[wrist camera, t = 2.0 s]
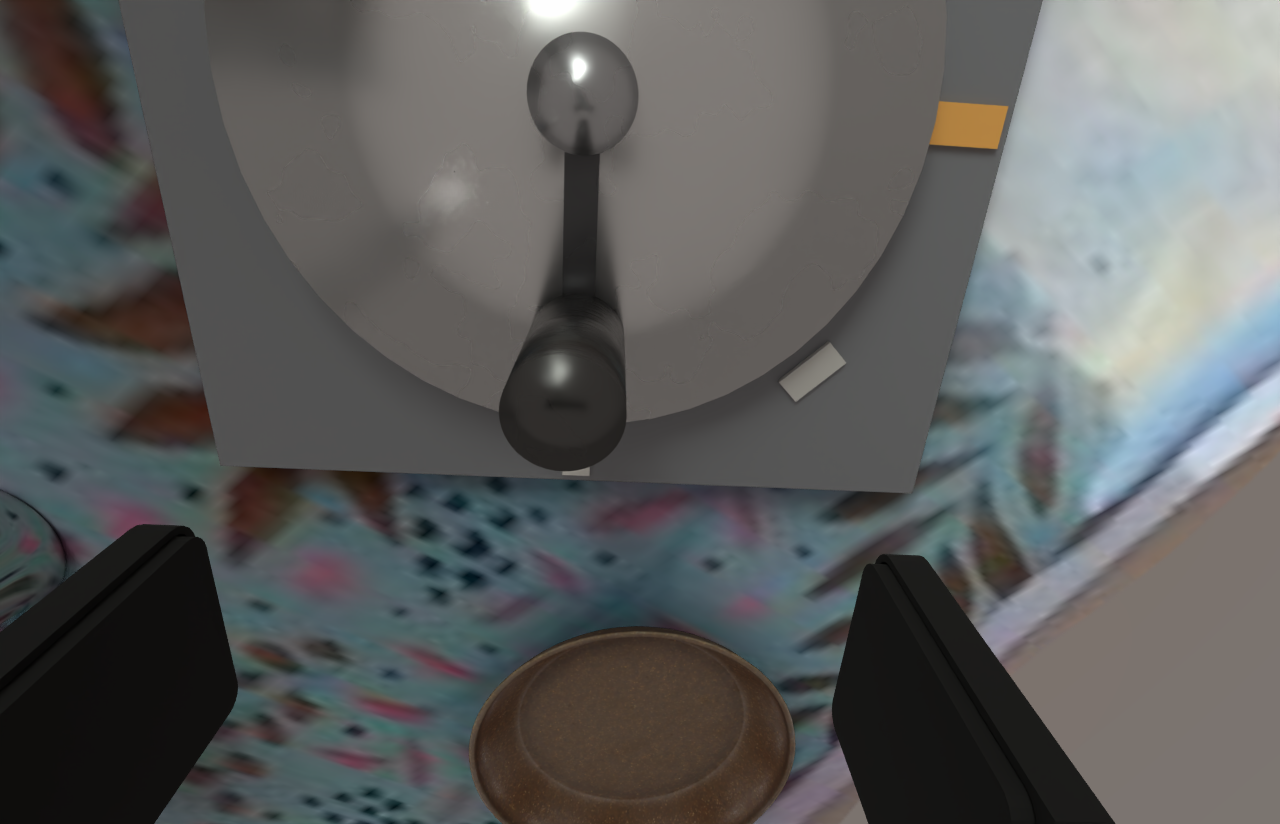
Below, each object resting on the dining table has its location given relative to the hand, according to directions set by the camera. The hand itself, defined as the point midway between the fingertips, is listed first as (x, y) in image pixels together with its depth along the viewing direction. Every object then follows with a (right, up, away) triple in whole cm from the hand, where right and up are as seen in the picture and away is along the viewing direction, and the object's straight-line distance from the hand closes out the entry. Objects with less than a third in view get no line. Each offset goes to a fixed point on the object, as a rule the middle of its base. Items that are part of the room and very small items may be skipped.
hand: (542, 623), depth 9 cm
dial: (0, +12, +10) cm, 16 cm away
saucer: (+1, -12, +23) cm, 26 cm away
